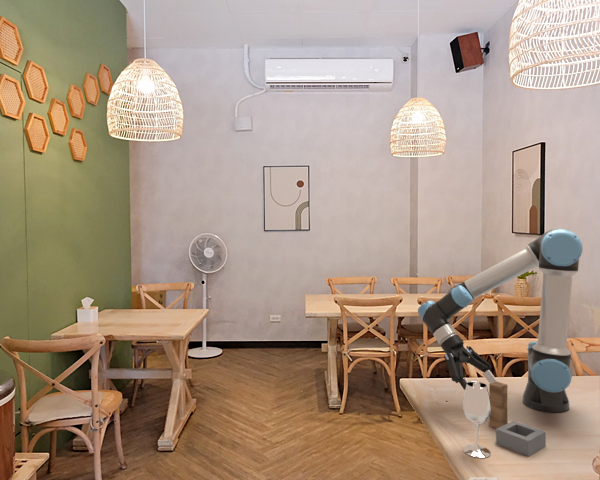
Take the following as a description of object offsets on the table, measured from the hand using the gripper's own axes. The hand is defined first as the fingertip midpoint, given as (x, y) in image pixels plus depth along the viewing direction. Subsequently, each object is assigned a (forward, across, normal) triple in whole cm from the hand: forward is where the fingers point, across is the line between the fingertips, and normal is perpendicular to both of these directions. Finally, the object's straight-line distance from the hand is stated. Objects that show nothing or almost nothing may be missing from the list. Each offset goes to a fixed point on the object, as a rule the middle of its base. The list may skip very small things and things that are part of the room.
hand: (486, 392), depth 156 cm
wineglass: (+14, +20, -1) cm, 25 cm away
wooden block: (+10, -1, -5) cm, 11 cm away
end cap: (+18, +6, +4) cm, 19 cm away
